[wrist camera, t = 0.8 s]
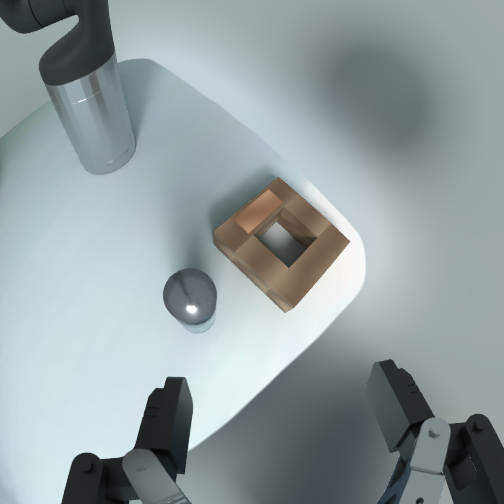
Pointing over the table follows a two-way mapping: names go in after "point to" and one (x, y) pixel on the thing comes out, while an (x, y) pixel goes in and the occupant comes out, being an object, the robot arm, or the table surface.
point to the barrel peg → (191, 299)
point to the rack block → (263, 260)
